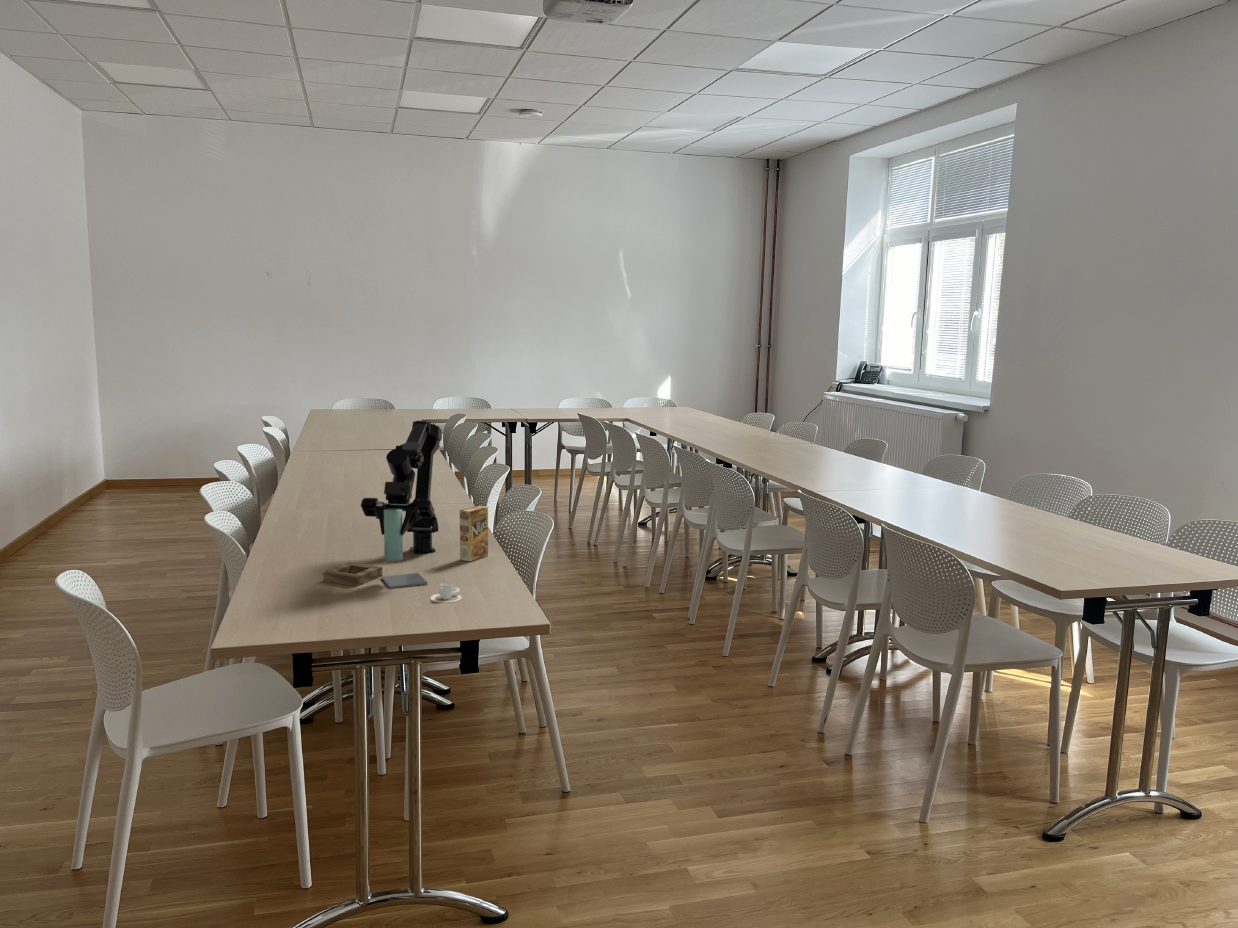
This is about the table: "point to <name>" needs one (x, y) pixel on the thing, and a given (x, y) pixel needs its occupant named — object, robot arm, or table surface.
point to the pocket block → (352, 574)
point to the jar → (393, 534)
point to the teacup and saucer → (447, 593)
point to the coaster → (404, 580)
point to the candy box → (473, 533)
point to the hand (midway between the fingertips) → (392, 534)
